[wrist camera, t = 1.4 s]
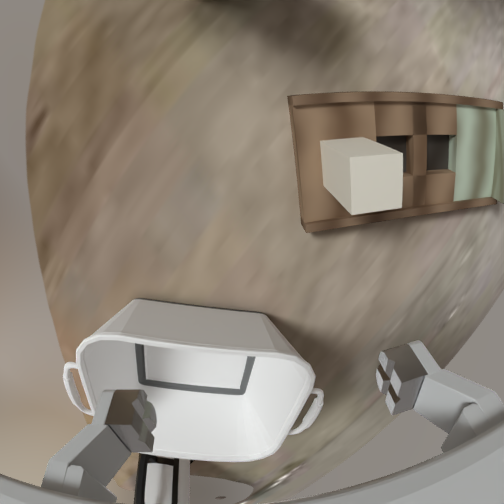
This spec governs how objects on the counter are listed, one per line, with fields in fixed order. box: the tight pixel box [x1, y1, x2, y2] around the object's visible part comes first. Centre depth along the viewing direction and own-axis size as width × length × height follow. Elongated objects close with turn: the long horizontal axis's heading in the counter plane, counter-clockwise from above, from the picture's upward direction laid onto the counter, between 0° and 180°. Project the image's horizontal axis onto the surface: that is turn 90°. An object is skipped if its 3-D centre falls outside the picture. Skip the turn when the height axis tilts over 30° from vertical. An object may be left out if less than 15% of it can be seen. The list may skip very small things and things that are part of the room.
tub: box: [63, 298, 324, 462], centre depth 40 cm, size 34×27×13 cm
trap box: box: [287, 92, 504, 233], centre depth 32 cm, size 30×15×5 cm, turn 98°
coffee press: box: [134, 453, 193, 504], centre depth 48 cm, size 17×16×30 cm
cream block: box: [320, 137, 403, 215], centre depth 28 cm, size 5×5×8 cm
